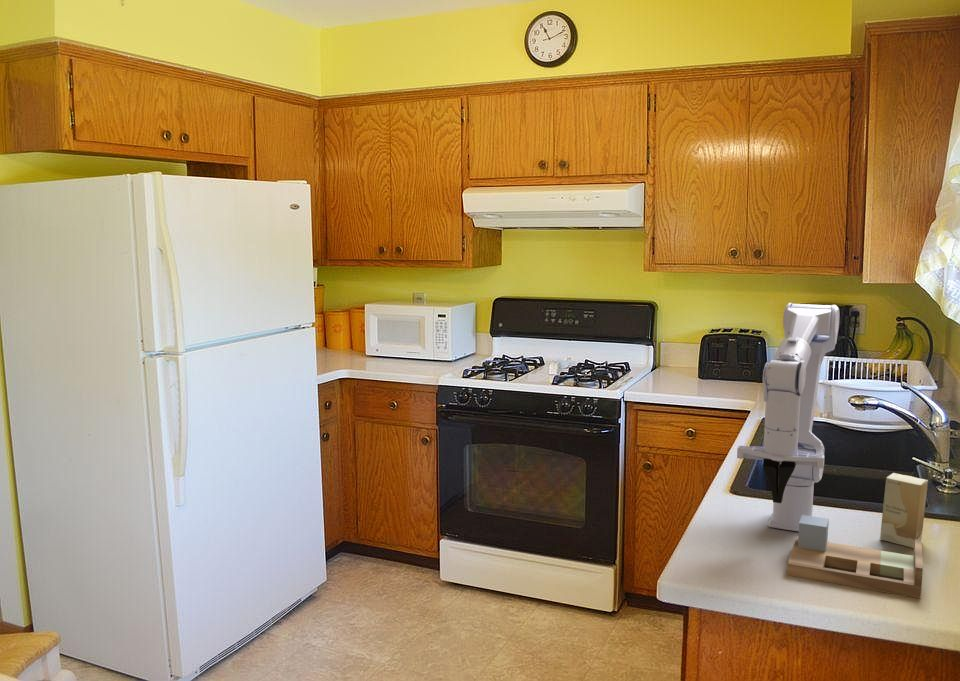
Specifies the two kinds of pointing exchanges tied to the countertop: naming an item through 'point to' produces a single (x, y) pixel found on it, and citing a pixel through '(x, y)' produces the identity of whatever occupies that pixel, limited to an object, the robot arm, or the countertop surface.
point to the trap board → (860, 567)
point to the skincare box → (903, 509)
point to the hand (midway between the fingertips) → (777, 501)
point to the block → (813, 533)
